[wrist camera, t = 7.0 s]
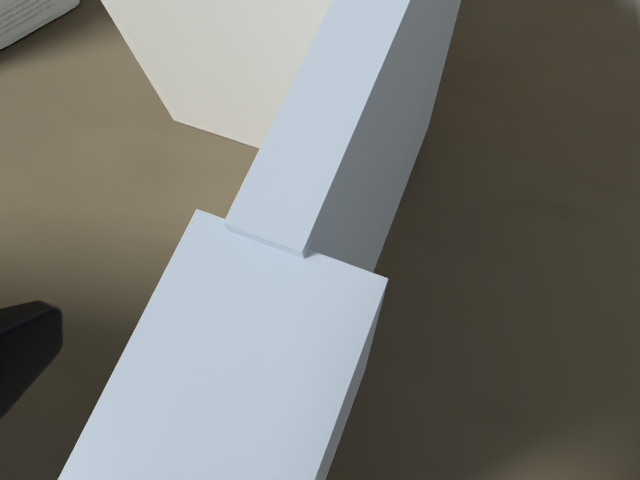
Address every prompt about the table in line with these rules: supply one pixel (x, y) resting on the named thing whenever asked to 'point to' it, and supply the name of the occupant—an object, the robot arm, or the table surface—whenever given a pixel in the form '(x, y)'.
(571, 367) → the table surface
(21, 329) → the robot arm
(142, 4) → the large white box
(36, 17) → the supplement box
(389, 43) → the camera side door
